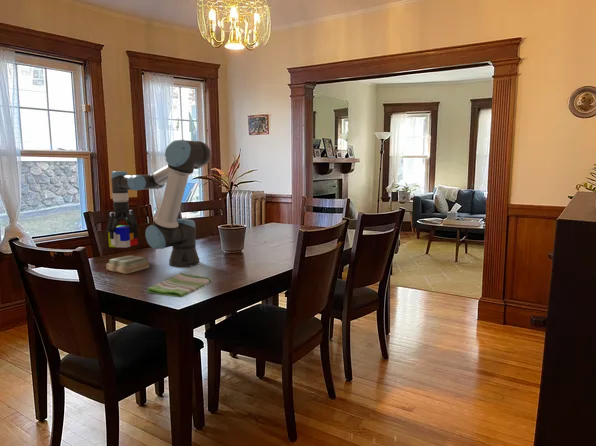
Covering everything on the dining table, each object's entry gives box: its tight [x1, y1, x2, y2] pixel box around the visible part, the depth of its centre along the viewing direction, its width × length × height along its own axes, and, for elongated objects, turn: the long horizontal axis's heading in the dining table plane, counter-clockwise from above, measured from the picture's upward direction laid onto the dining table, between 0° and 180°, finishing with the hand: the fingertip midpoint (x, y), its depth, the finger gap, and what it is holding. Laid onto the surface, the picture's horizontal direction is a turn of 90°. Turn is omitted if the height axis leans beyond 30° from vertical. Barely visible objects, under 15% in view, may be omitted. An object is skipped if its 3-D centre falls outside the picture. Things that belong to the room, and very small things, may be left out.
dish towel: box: [146, 272, 212, 298], centre depth 184 cm, size 17×23×4 cm
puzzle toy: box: [107, 224, 139, 248], centre depth 228 cm, size 10×10×10 cm
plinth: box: [105, 254, 150, 274], centre depth 214 cm, size 14×14×5 cm
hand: (123, 243), depth 229 cm, fingers closed on puzzle toy, 11 cm apart
